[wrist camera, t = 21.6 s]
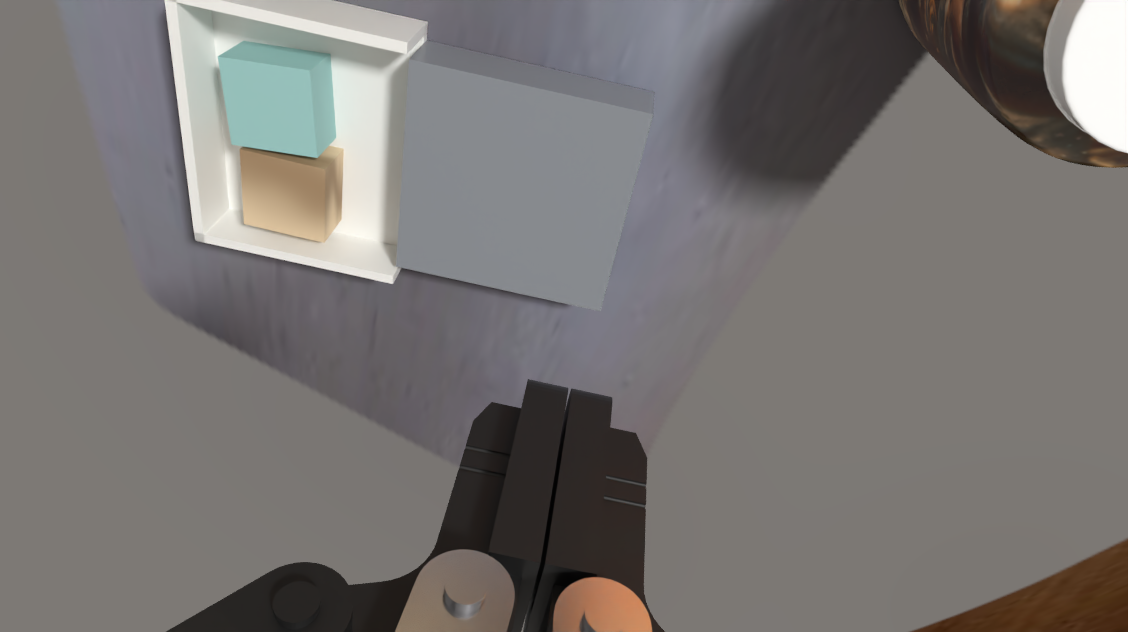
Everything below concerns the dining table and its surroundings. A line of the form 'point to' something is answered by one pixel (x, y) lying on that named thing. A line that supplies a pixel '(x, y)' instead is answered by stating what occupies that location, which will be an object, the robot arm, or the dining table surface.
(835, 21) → the dining table surface
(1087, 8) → the jar
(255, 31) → the tray
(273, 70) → the seafoam green cuboid
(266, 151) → the thick tan wooden block
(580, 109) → the board
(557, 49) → the dining table surface
